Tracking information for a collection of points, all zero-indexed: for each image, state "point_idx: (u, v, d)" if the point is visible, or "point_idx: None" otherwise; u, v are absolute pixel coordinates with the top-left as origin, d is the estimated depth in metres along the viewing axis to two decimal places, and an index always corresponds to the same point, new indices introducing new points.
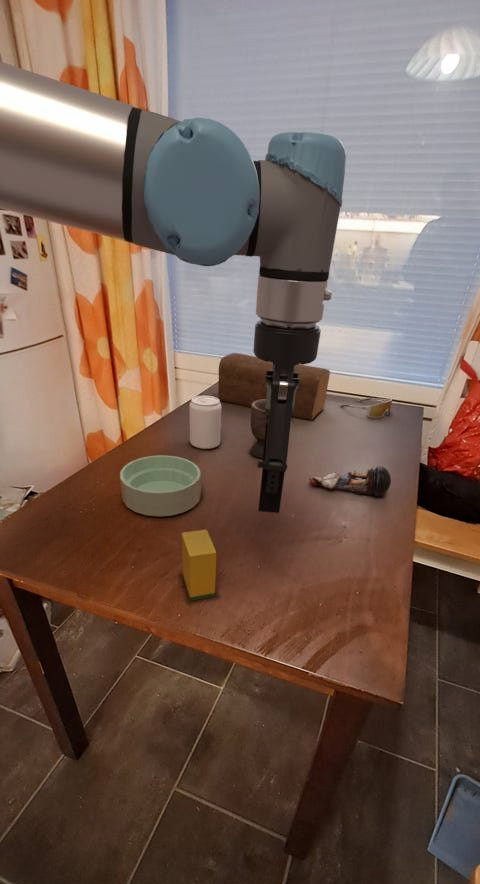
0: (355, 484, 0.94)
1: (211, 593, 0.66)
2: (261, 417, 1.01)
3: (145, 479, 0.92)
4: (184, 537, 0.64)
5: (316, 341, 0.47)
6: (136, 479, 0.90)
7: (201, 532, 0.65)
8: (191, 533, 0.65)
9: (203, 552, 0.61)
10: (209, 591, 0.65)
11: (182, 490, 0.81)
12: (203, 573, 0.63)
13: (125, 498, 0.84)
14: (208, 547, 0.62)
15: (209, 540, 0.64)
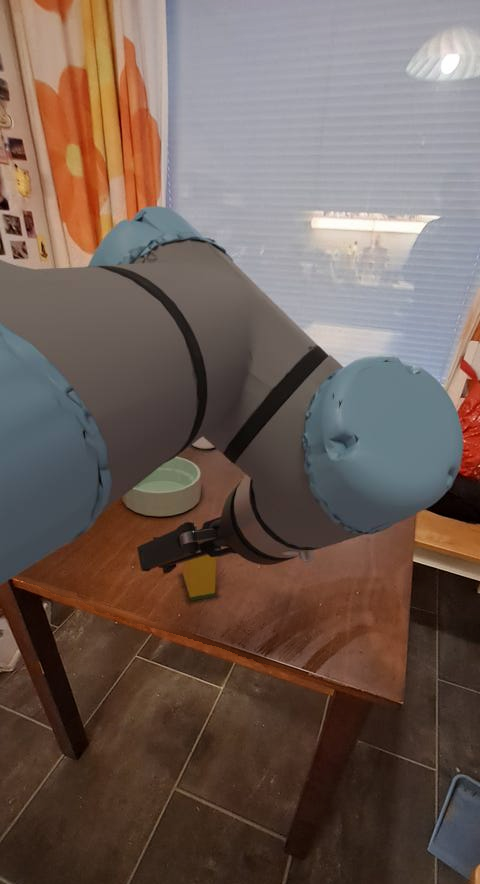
0: None
1: (211, 593, 0.66)
2: None
3: (145, 479, 0.92)
4: None
5: (261, 560, 0.33)
6: None
7: None
8: None
9: None
10: (209, 591, 0.65)
11: (182, 490, 0.81)
12: (203, 573, 0.63)
13: (125, 498, 0.84)
14: None
15: None
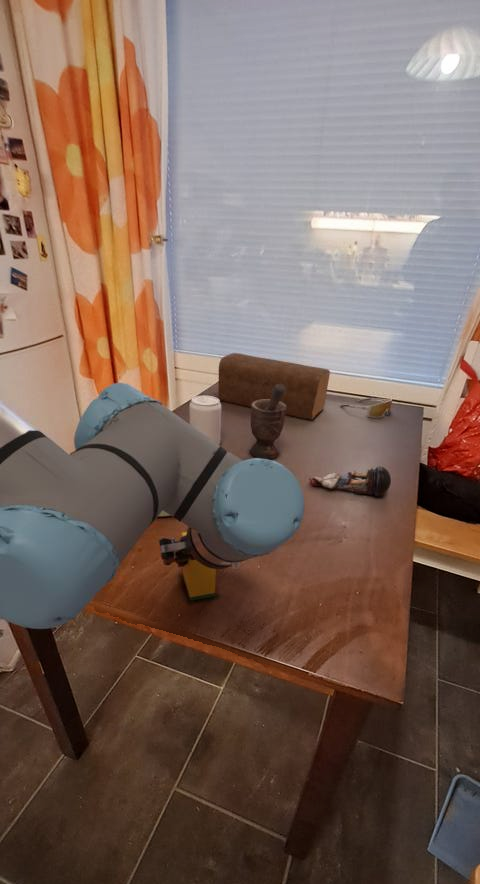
0: (355, 484, 0.94)
1: (211, 593, 0.66)
2: (261, 417, 1.01)
3: None
4: None
5: (210, 565, 0.48)
6: None
7: None
8: None
9: None
10: (209, 591, 0.65)
11: None
12: (203, 573, 0.63)
13: None
14: None
15: None
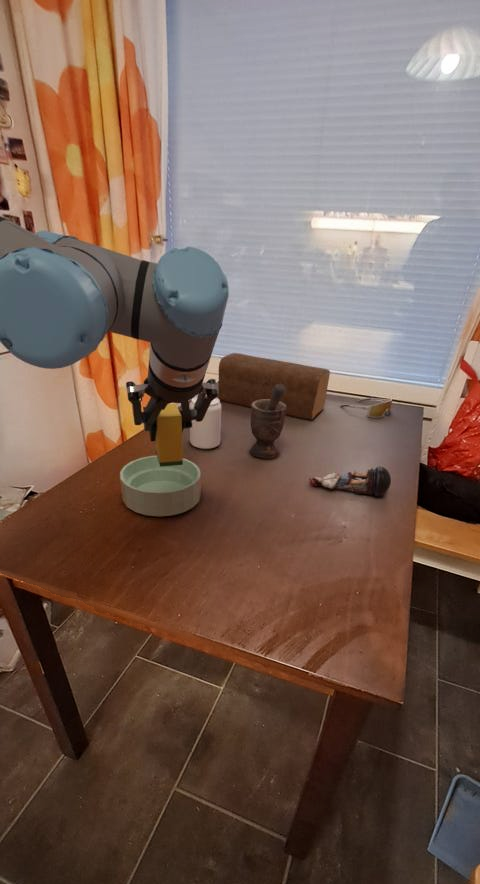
0: (355, 484, 0.94)
1: (179, 461, 0.74)
2: (261, 417, 1.01)
3: (145, 479, 0.92)
4: None
5: (167, 393, 0.55)
6: (136, 479, 0.90)
7: (169, 405, 0.73)
8: None
9: (170, 415, 0.69)
10: (177, 458, 0.73)
11: (182, 490, 0.81)
12: (171, 437, 0.71)
13: (125, 498, 0.84)
14: (175, 413, 0.70)
15: (176, 409, 0.71)
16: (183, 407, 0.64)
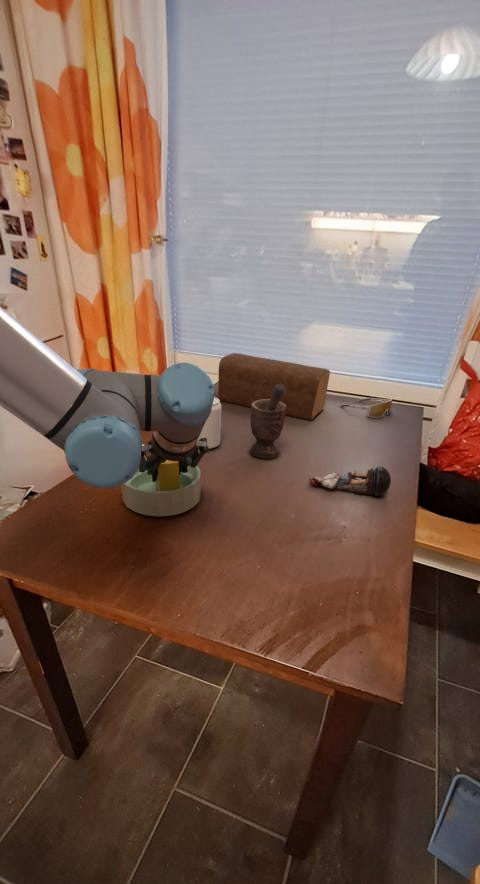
0: (355, 484, 0.94)
1: None
2: (261, 417, 1.01)
3: (145, 479, 0.92)
4: None
5: (167, 455, 0.69)
6: (136, 479, 0.90)
7: None
8: None
9: (169, 462, 0.82)
10: None
11: (182, 490, 0.81)
12: (169, 479, 0.84)
13: (125, 498, 0.84)
14: None
15: None
16: None
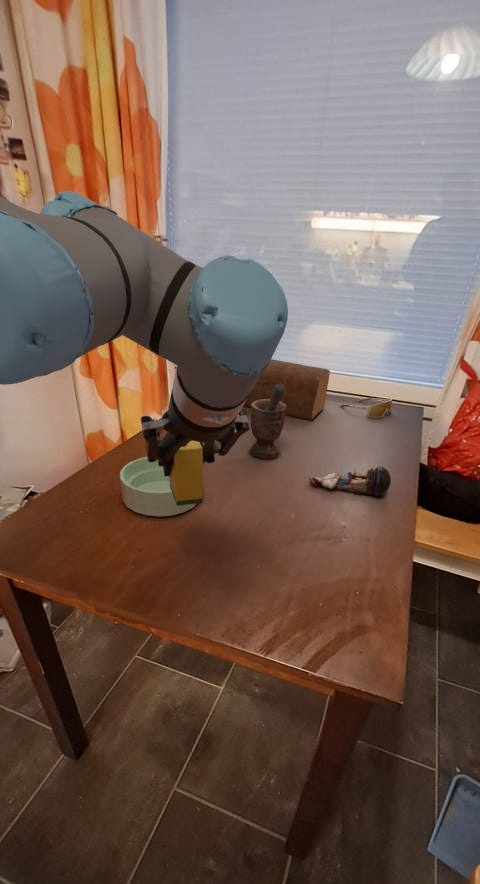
0: (355, 484, 0.94)
1: (199, 498, 0.63)
2: (261, 417, 1.01)
3: (145, 479, 0.92)
4: None
5: (193, 433, 0.45)
6: (136, 479, 0.90)
7: None
8: None
9: (189, 448, 0.58)
10: (196, 496, 0.63)
11: None
12: (190, 472, 0.60)
13: (125, 498, 0.84)
14: (195, 445, 0.59)
15: None
16: (207, 443, 0.54)
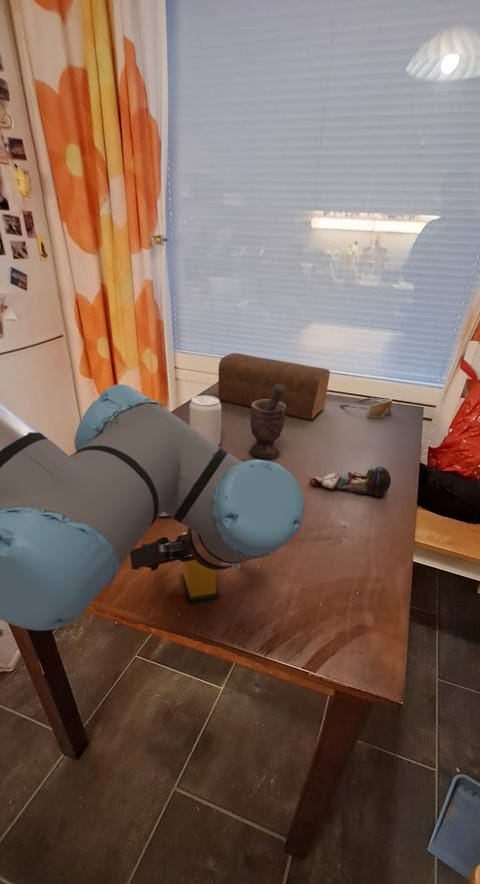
0: (355, 484, 0.94)
1: (212, 593, 0.66)
2: (261, 417, 1.01)
3: None
4: None
5: (210, 566, 0.48)
6: None
7: None
8: None
9: None
10: (210, 591, 0.65)
11: None
12: (204, 573, 0.63)
13: None
14: None
15: None
16: None
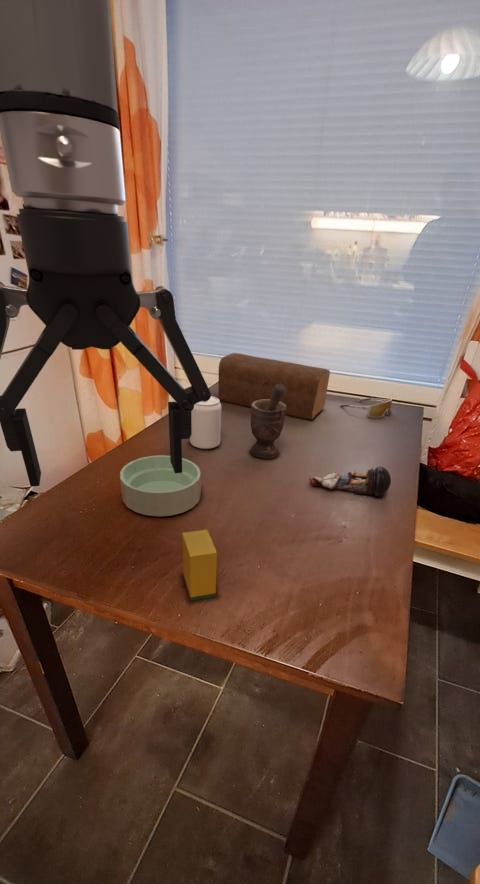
0: (355, 484, 0.94)
1: (212, 593, 0.66)
2: (261, 417, 1.01)
3: (145, 479, 0.92)
4: (185, 537, 0.64)
5: (47, 232, 0.28)
6: (136, 479, 0.90)
7: (201, 532, 0.65)
8: (192, 533, 0.65)
9: (204, 552, 0.61)
10: (210, 591, 0.65)
11: (182, 490, 0.81)
12: (204, 573, 0.63)
13: (125, 498, 0.84)
14: (209, 548, 0.62)
15: (210, 540, 0.63)
16: (128, 345, 0.35)
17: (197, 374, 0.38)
